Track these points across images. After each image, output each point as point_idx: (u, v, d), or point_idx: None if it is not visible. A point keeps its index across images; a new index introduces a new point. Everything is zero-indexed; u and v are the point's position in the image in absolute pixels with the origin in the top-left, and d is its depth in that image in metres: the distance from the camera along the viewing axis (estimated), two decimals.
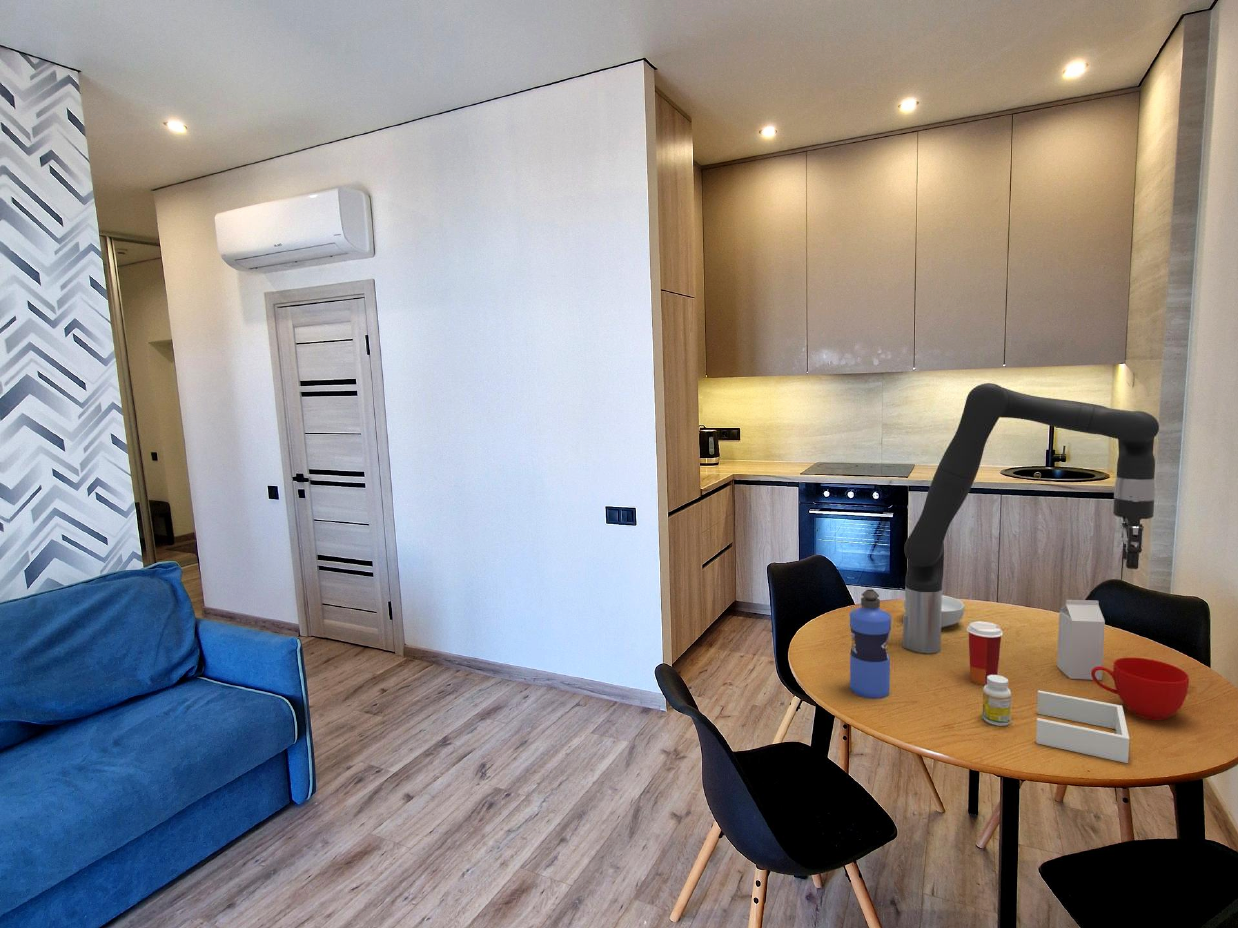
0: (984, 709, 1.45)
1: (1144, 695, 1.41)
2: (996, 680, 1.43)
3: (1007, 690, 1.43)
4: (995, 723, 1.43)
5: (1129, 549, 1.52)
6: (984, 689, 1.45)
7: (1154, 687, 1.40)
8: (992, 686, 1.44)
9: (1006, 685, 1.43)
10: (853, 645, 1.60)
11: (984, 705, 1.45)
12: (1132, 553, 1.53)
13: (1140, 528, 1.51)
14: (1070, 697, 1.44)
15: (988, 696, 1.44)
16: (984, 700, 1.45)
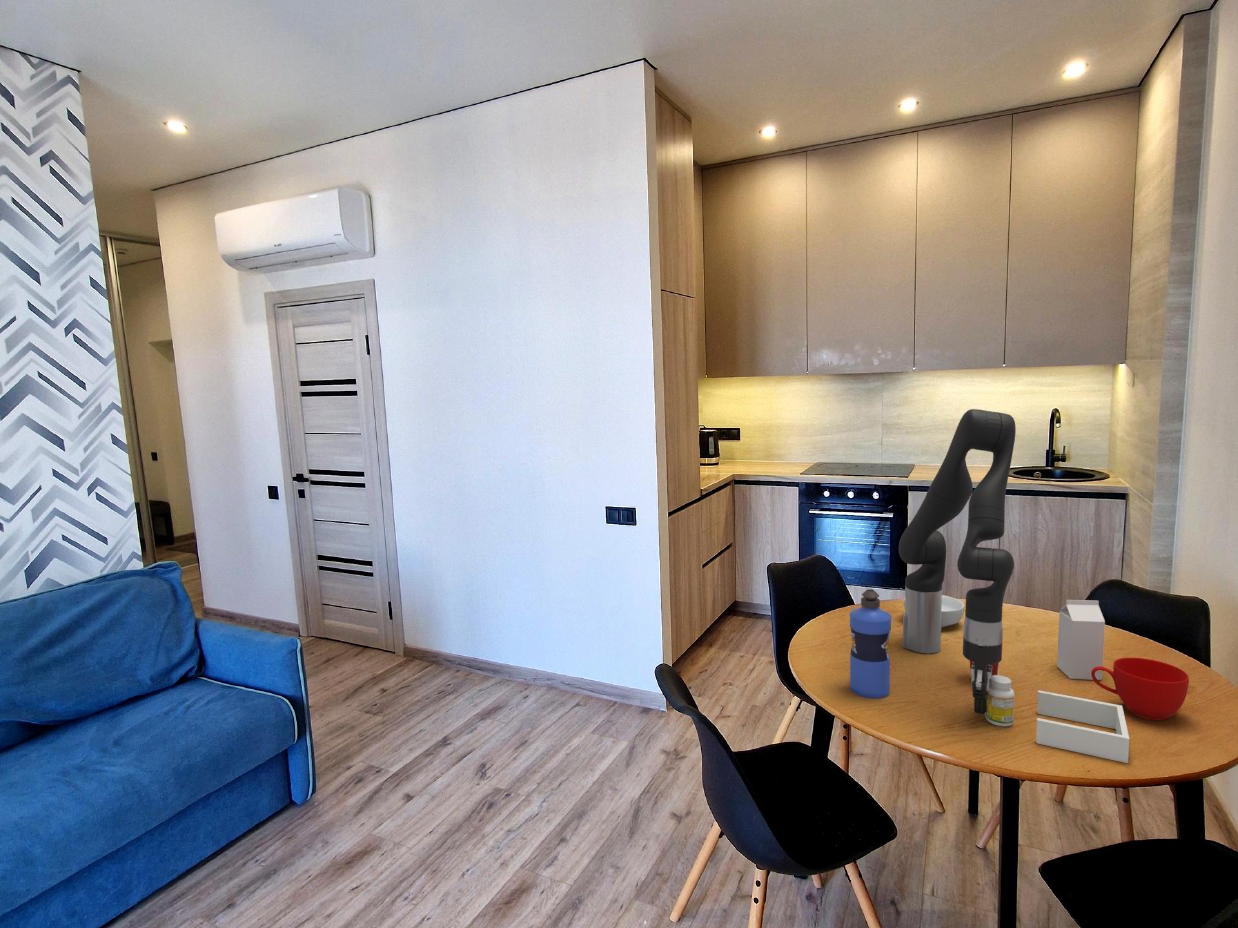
0: (987, 710, 1.45)
1: (1144, 695, 1.41)
2: (1000, 681, 1.43)
3: (1010, 690, 1.43)
4: (998, 724, 1.43)
5: (974, 695, 1.44)
6: None
7: (1153, 687, 1.40)
8: (995, 686, 1.43)
9: (1009, 685, 1.42)
10: (853, 645, 1.60)
11: (987, 706, 1.45)
12: (978, 698, 1.45)
13: (983, 687, 1.40)
14: (1070, 697, 1.44)
15: (991, 697, 1.43)
16: (987, 701, 1.45)
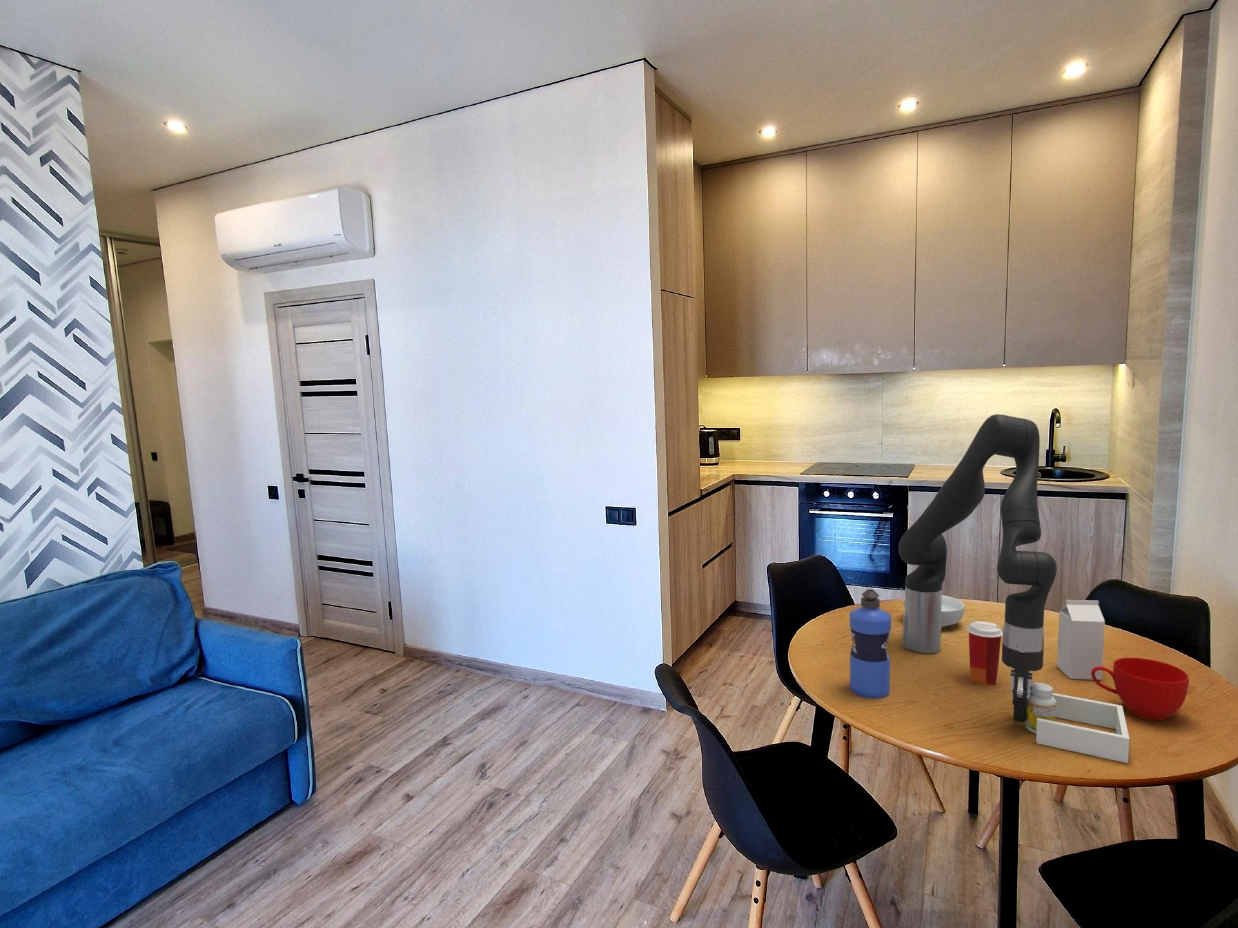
0: (1028, 718, 1.41)
1: (1144, 695, 1.41)
2: (1041, 688, 1.39)
3: (1052, 698, 1.39)
4: None
5: (1014, 703, 1.40)
6: None
7: (1153, 687, 1.40)
8: (1036, 694, 1.39)
9: (1051, 693, 1.38)
10: (853, 645, 1.60)
11: (1028, 714, 1.41)
12: (1018, 706, 1.41)
13: (1024, 695, 1.36)
14: (1070, 697, 1.44)
15: (1033, 705, 1.39)
16: (1028, 709, 1.41)
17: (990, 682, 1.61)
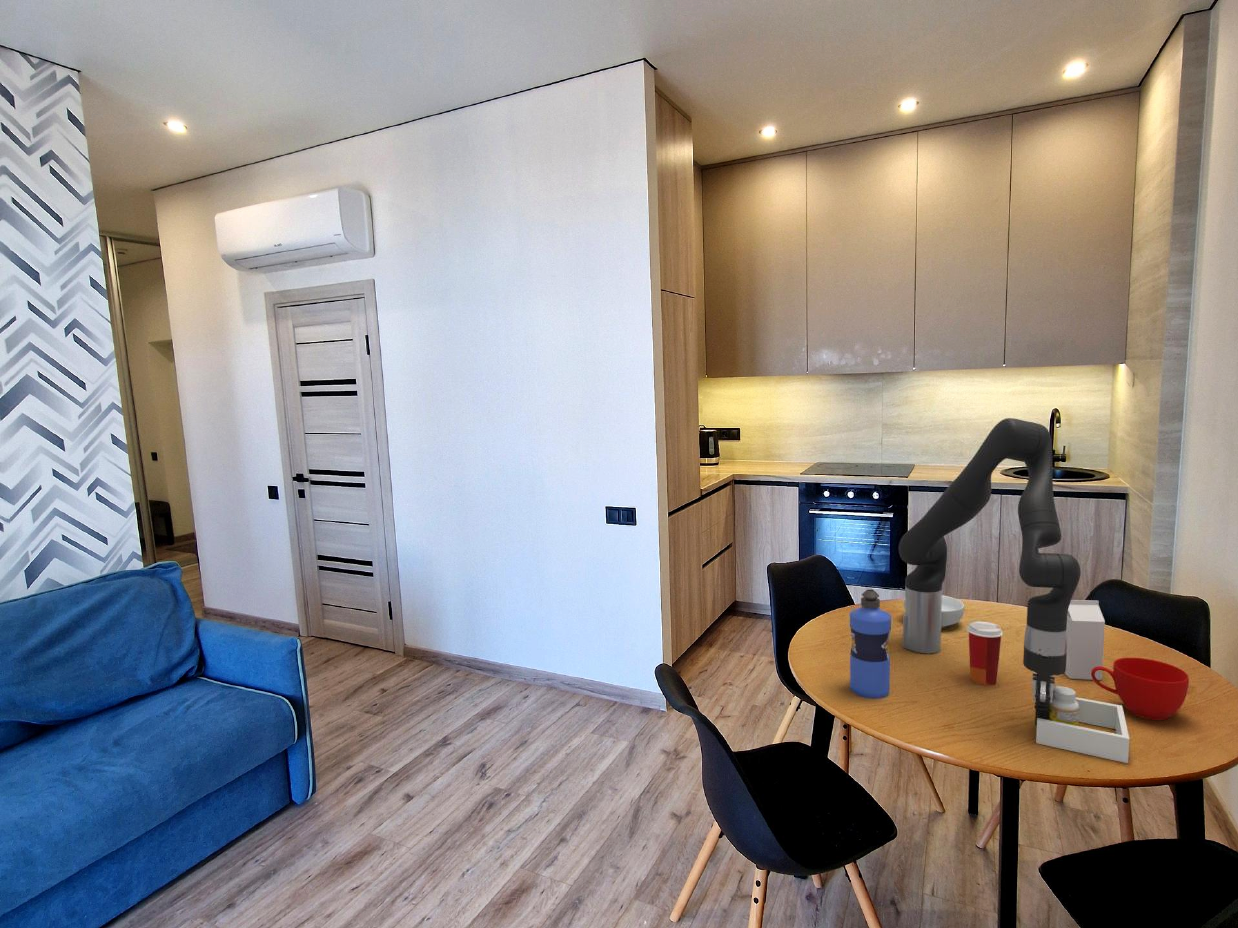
0: None
1: (1144, 695, 1.41)
2: (1065, 692, 1.37)
3: (1075, 702, 1.37)
4: None
5: (1036, 708, 1.38)
6: (1051, 702, 1.38)
7: (1153, 687, 1.40)
8: (1060, 698, 1.37)
9: (1075, 697, 1.37)
10: (853, 645, 1.60)
11: (1051, 719, 1.38)
12: (1040, 711, 1.39)
13: (1047, 699, 1.34)
14: None
15: (1057, 709, 1.37)
16: (1051, 714, 1.38)
17: (990, 682, 1.61)
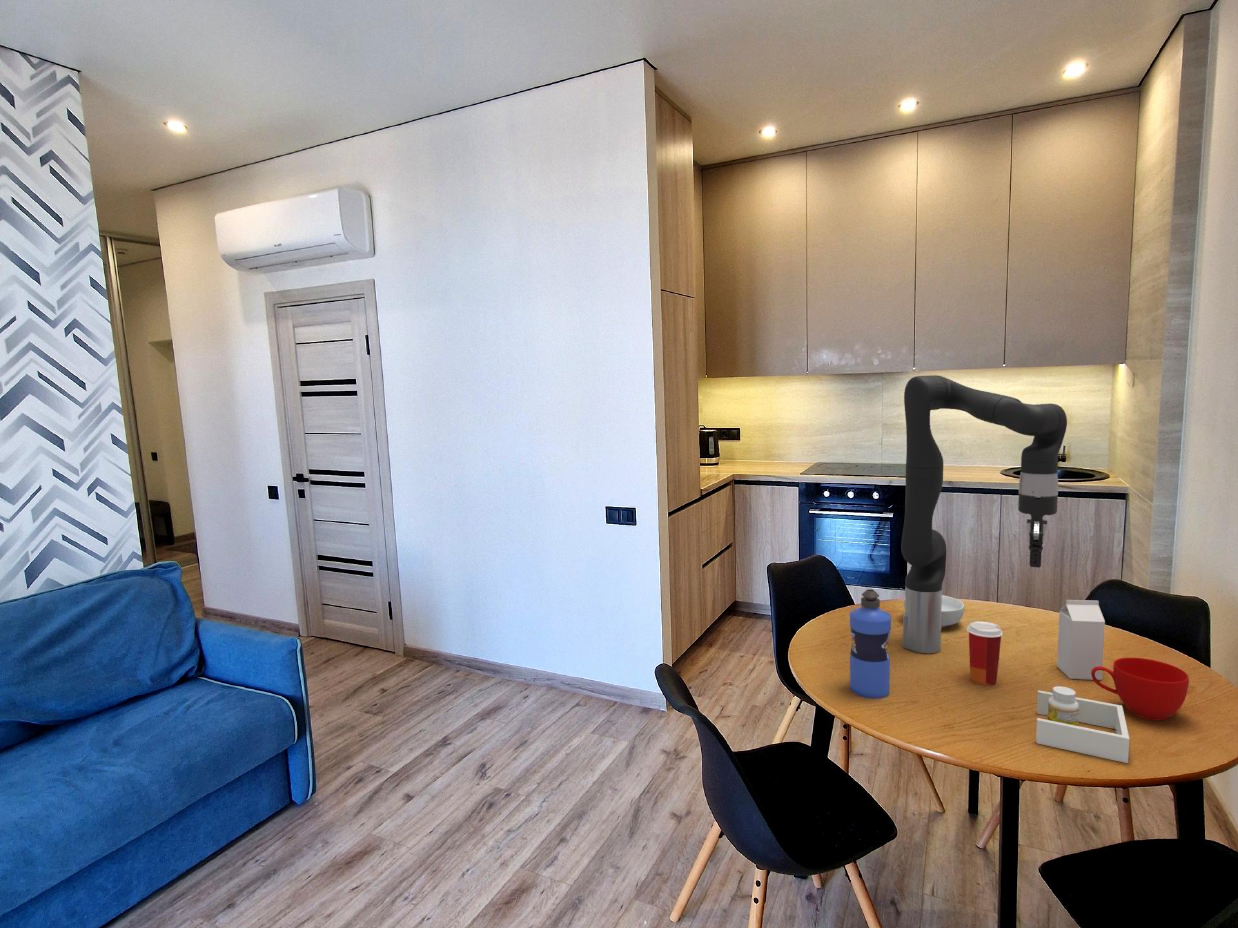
0: None
1: (1144, 695, 1.41)
2: (1065, 692, 1.37)
3: (1075, 702, 1.37)
4: None
5: (1031, 547, 1.50)
6: (1051, 702, 1.38)
7: (1153, 687, 1.40)
8: (1060, 698, 1.37)
9: (1075, 697, 1.37)
10: (853, 645, 1.60)
11: (1051, 719, 1.38)
12: (1034, 551, 1.51)
13: (1040, 535, 1.46)
14: None
15: (1057, 710, 1.37)
16: (1051, 714, 1.38)
17: (990, 682, 1.61)
